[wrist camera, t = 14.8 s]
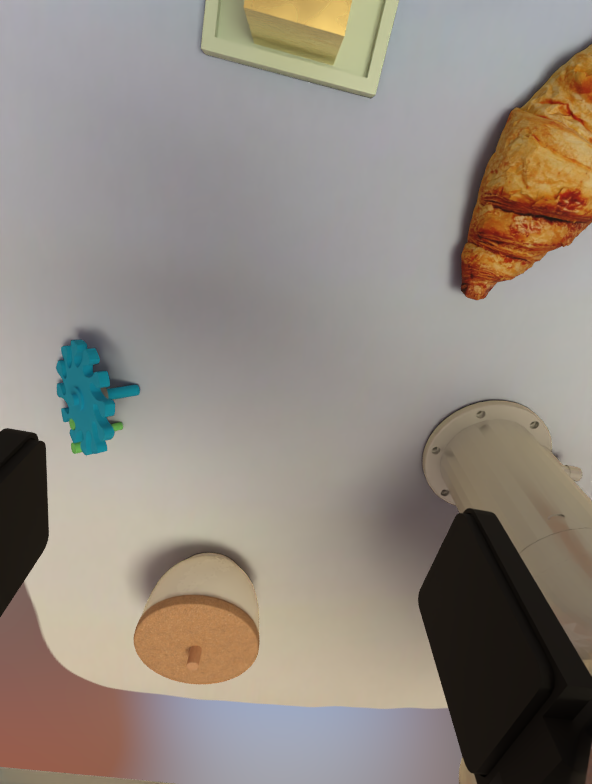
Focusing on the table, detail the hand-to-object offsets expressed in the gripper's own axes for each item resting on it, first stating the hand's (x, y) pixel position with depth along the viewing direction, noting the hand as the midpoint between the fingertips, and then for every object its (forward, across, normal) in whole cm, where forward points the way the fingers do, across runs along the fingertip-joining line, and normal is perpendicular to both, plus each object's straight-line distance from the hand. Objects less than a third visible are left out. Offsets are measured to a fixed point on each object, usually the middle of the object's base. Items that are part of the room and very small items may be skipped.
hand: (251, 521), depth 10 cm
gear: (+31, +14, +14) cm, 37 cm away
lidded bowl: (+31, +1, +37) cm, 48 cm away
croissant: (+31, -18, -11) cm, 38 cm away
